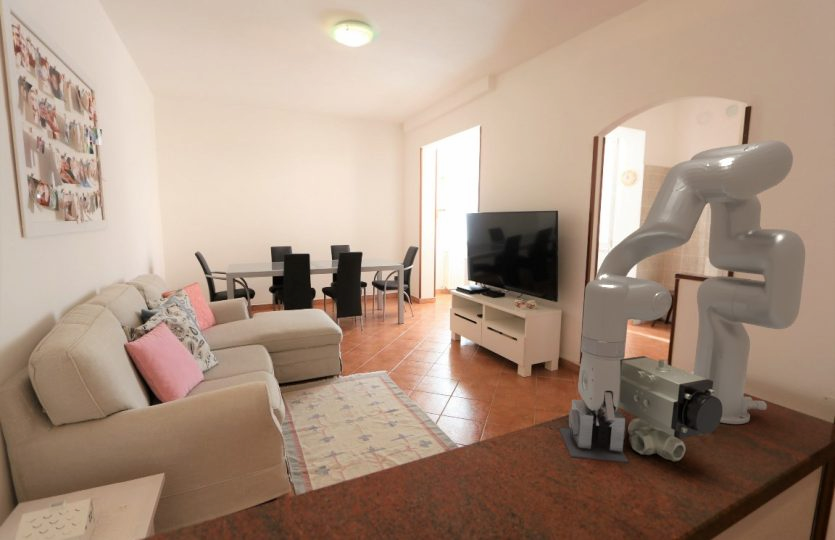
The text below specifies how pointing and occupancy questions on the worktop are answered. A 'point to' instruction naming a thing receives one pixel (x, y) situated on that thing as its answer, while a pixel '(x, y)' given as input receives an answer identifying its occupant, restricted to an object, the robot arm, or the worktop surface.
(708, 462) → the worktop surface
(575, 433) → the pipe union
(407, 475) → the worktop surface
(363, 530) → the worktop surface
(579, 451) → the joint mat
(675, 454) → the ball valve
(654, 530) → the worktop surface
